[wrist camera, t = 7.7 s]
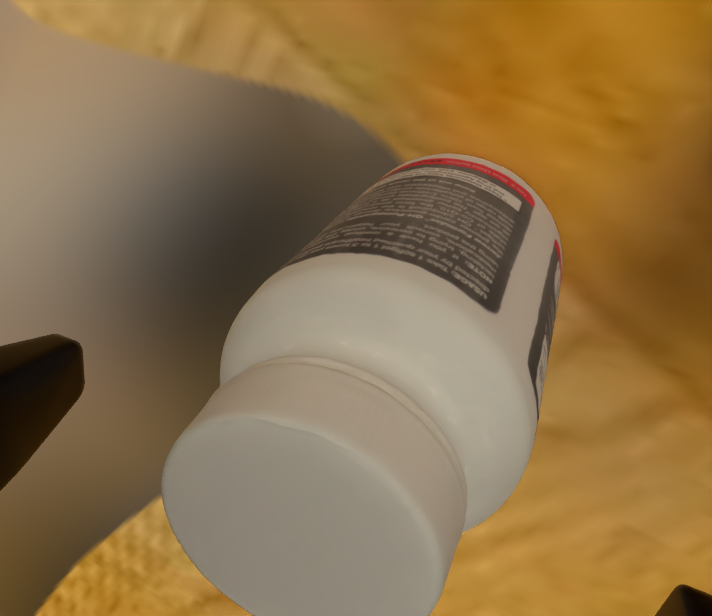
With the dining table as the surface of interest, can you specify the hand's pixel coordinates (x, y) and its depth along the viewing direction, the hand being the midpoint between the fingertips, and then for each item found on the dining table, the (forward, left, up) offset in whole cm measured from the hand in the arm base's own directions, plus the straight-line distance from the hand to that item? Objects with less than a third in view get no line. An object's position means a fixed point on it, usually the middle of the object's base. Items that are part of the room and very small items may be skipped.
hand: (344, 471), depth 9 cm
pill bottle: (0, 0, -9) cm, 9 cm away
